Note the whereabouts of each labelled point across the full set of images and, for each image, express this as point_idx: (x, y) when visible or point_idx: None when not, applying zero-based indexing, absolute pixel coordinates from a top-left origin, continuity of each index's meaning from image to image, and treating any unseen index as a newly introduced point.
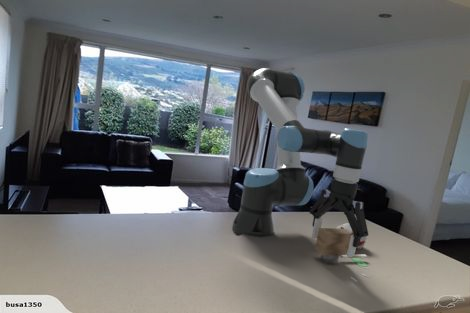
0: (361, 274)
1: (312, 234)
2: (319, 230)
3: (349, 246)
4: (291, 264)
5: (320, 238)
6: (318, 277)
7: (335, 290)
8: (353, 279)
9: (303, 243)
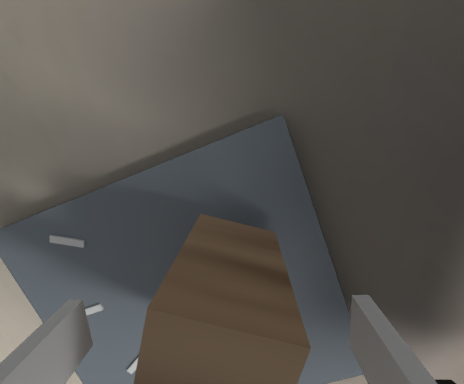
0: (95, 305)
1: (379, 312)
2: (290, 325)
3: (19, 355)
4: (284, 80)
5: (243, 269)
6: (150, 125)
7: (50, 117)
8: (67, 238)
9: (427, 309)
